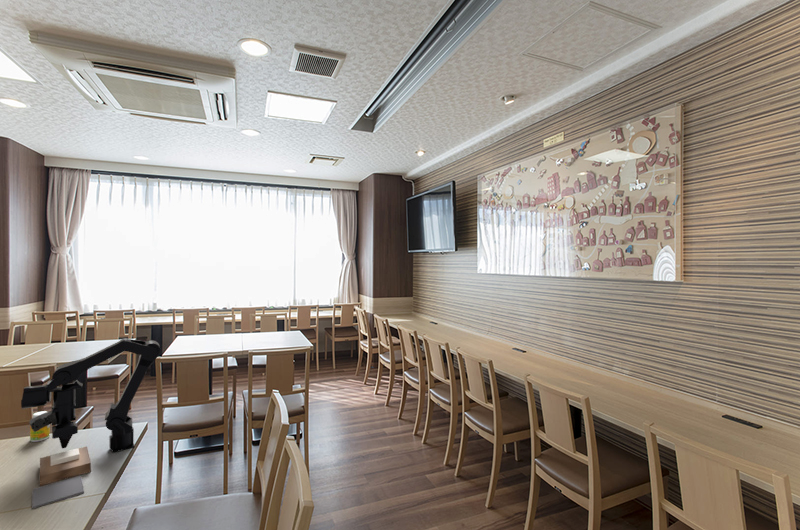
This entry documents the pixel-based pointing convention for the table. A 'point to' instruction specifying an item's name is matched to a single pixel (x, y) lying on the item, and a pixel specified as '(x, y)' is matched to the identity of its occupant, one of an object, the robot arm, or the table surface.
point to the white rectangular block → (64, 456)
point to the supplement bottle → (41, 433)
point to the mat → (57, 491)
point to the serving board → (64, 468)
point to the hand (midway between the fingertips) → (64, 447)
